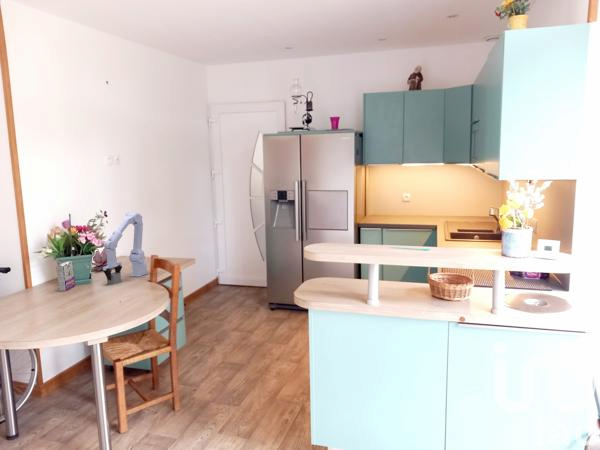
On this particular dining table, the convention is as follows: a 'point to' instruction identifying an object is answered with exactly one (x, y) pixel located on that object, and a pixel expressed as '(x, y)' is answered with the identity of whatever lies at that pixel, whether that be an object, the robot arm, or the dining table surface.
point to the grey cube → (114, 278)
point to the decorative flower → (100, 260)
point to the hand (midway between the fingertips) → (113, 278)
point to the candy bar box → (65, 276)
